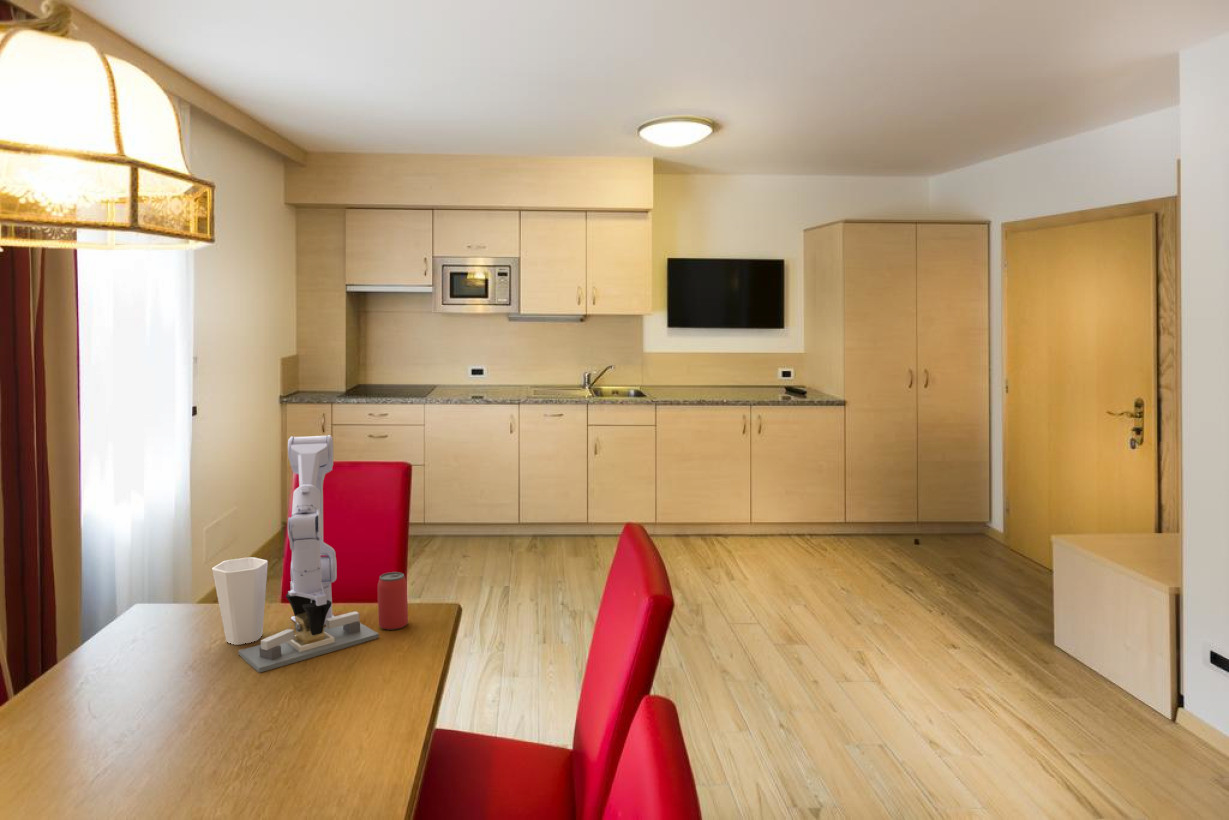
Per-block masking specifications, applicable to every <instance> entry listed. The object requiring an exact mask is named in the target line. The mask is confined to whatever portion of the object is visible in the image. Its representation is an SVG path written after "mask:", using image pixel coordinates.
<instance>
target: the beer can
mask: <svg viewBox="0 0 1229 820" xmlns="http://www.w3.org/2000/svg"><path fill="white" fill-rule="evenodd" d="M377 608H378V609H377V612H378V626H379V627H380V628H381V629H383V630H385V629H386V631H394V630H399V629H403V628H404V627H406V626H407V625H408V624H409V615H408V614H409V611H408V609H409V607H408V583H407V580H406V577H405V574H404V573H402V572H399V571H392V572H385V573H383V574H381V575H380V576H379V579H378V583H377Z"/></svg>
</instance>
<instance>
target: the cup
mask: <svg viewBox="0 0 1229 820" xmlns="http://www.w3.org/2000/svg"><path fill="white" fill-rule="evenodd" d="M268 566H269V561H268V560H267V559H262V558H258V557H254V556H253V557H249V556H248V557H241V558H234V559H226V560H223V561H222V562H220V563H219V564H216V565H215V566H213V567H212V568H211V569H212V570H211V571H212V576H213V581H214V586H215V591H216V595H217V601H218V605H219V612H220V615H221V620H222V622H221V623H222V626H223V630H224V631H223V632H224V637H225V642H226V643H227V642H228V643H229V644H230V643H231V645H233V644H234V645H233V646H239V645H246V644H249V643H251V642H252V643H254V641H255V642H257V641H258V640H260V638H261V636H262V637H263V632H264V631H263V629H264V620H265V619H264V616H265V605H266V593H267V592H266V591H267V590H266V589H267V577H268ZM245 643H246V644H245ZM252 643H251V644H252Z"/></svg>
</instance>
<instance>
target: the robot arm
mask: <svg viewBox="0 0 1229 820" xmlns="http://www.w3.org/2000/svg"><path fill="white" fill-rule="evenodd" d="M287 440H288V441H287V455H288V461H289V465H290V468H291V470H292V473H294V474H297V475H298V485H299V486H298V487H297V488H295V489H294V491H293V492H292V493H293V494H292V505H291V517H290V516H289V517H288V520H287V535H288V539H289V548H290V550H291V561H290V580H291V581H289V582H290V590H288V591H287V594H286V595H285V598H286V599H287V601H288V602H289V604H290V606H291V609H292V612H293V615H294V616H291V617H290V620H292V621H293V622H295V623H296V621H295V615H298V614H302V613H306V614H307V617H308V621H309V626H310V631H311V634H312V635H317V634H321V633H322V632H323V627H324V628H325V626H326V619H327V618H331V617H335V615H334V614H333V597H332V583H335V581H336V580H337V577H338V575H337V572H338V571H337V570H338V569H337V568H338V567H337V557H336V554H337V553H336V551H335V548H333V547H332V546H331V545H329V544H328V543H326V542H324V489H323V488H324V480H325V477H326V475H327V474H329V473H330V472H331V471H333V466H334V439H333V436H332V435H331V434H328V435H312V436H309V435H308V436H292V435H291V436H290V438H288V439H287Z"/></svg>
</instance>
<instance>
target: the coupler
mask: <svg viewBox="0 0 1229 820" xmlns="http://www.w3.org/2000/svg"><path fill="white" fill-rule="evenodd" d="M294 616H295V621H296V622H295V621H294V622H295V624H294V628H295V635H296V642H298V643H299V644H300V645H302V646H303V645H306V644H310V643H313V642H317V641H321V640H324V639H325V637H324V628H325V626H324V627H323V632H322V633H321V634H317V635H312V634H311V631H310V626H309V621H308V617H307V614H306V613H302V614H298V615H294Z"/></svg>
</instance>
